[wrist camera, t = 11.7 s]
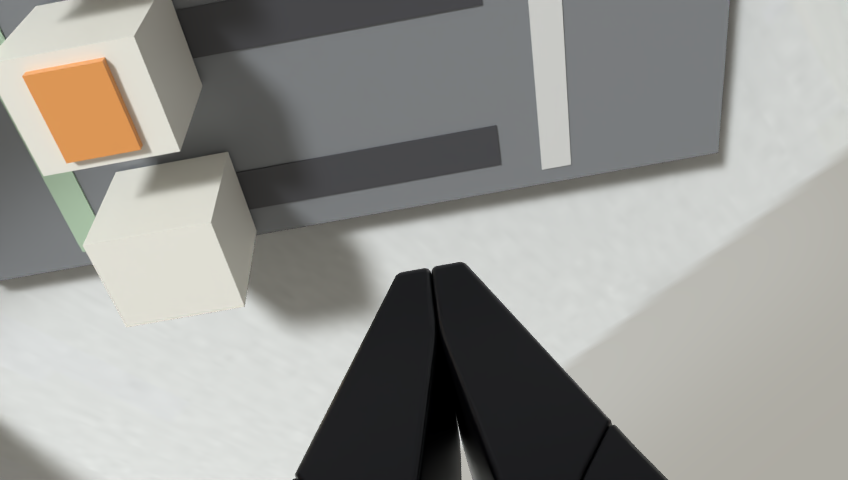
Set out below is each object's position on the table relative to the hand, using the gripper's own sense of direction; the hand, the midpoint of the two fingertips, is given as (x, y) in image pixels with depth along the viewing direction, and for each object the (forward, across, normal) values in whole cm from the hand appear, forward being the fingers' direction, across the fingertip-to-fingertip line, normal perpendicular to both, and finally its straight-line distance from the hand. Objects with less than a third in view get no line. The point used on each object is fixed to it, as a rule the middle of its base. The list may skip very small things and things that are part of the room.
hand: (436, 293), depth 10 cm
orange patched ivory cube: (+11, +6, 0) cm, 13 cm away
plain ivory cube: (+11, +7, +4) cm, 13 cm away
